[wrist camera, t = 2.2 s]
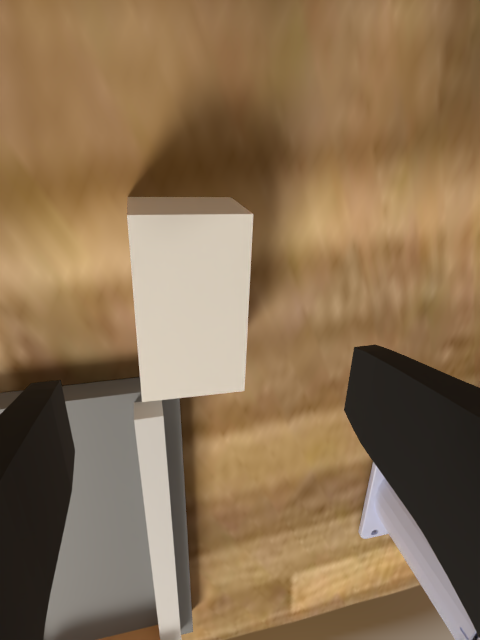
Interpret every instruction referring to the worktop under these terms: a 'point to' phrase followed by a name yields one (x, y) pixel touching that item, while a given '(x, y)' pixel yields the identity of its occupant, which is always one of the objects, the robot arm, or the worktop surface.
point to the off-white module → (190, 293)
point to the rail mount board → (122, 519)
